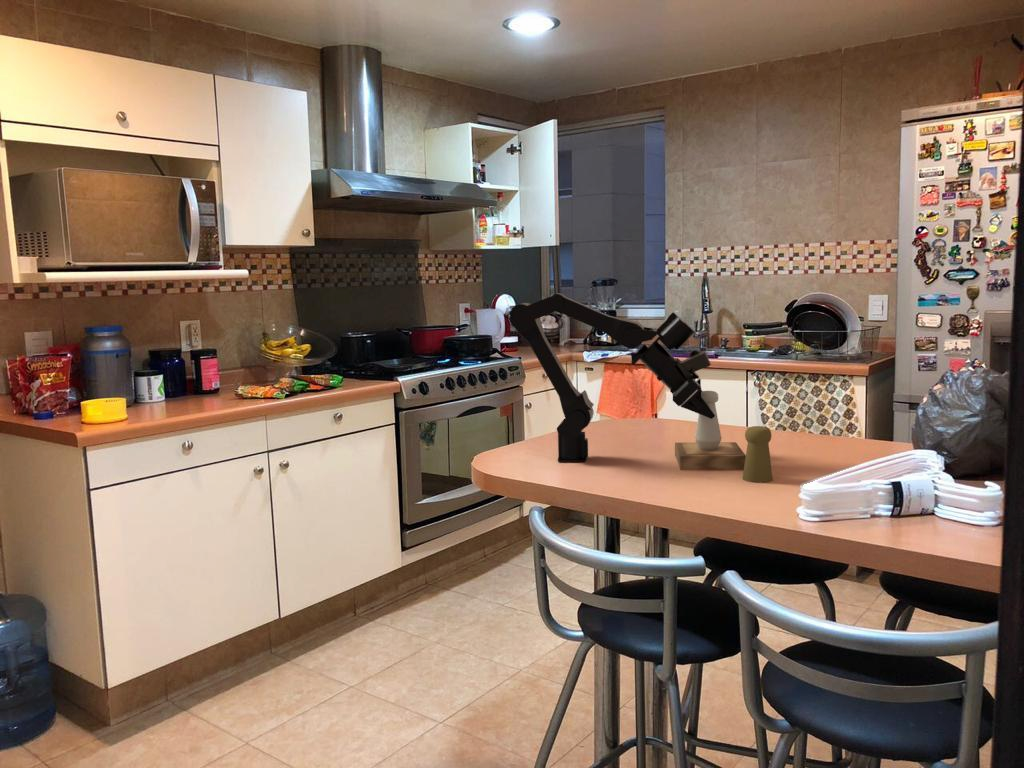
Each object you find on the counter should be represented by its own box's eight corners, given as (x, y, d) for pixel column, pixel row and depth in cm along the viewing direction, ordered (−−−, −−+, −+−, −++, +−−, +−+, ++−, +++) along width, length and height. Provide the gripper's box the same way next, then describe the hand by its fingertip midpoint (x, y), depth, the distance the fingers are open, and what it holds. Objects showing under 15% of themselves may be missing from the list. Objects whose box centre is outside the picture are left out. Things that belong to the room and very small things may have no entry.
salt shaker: (726, 449, 182) (727, 392, 180) (705, 452, 180) (705, 394, 178) (710, 444, 187) (711, 388, 185) (689, 447, 185) (690, 390, 183)
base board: (680, 469, 178) (680, 455, 177) (674, 455, 191) (674, 441, 191) (746, 469, 176) (746, 455, 176) (735, 454, 190) (735, 441, 189)
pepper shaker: (768, 484, 164) (769, 430, 162) (738, 480, 167) (739, 428, 166) (776, 477, 169) (777, 425, 167) (747, 474, 172) (747, 423, 171)
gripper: (688, 343, 172) (742, 395, 171) (689, 335, 190) (737, 382, 189) (651, 379, 175) (703, 431, 174) (654, 369, 193) (702, 415, 192)
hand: (713, 413), depth 182 cm, fingers open, 9 cm apart
